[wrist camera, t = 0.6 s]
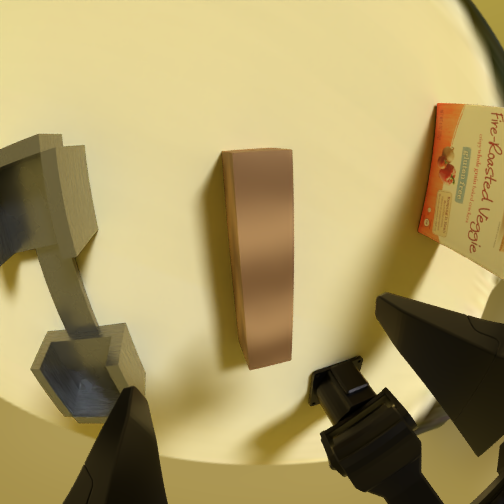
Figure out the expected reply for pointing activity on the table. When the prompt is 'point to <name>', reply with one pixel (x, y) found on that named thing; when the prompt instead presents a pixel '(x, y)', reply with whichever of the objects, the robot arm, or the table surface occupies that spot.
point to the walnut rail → (261, 250)
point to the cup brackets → (64, 275)
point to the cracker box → (468, 184)
